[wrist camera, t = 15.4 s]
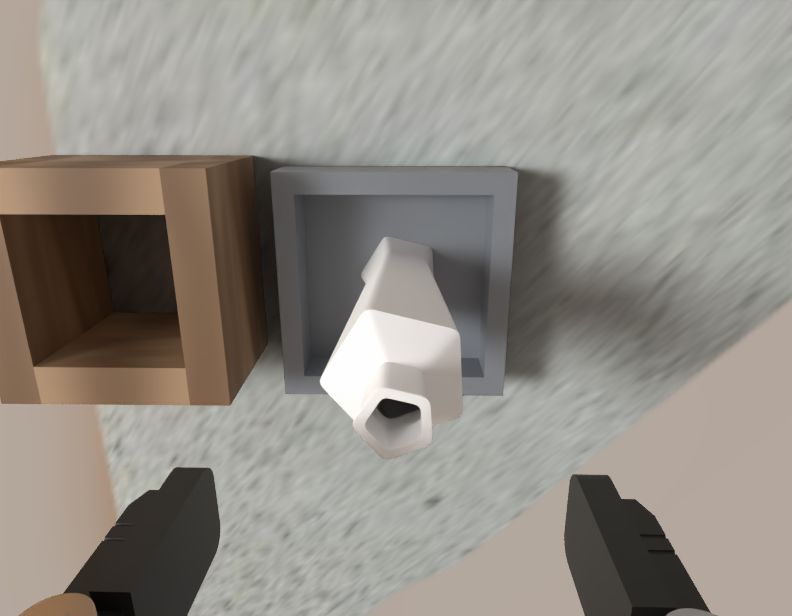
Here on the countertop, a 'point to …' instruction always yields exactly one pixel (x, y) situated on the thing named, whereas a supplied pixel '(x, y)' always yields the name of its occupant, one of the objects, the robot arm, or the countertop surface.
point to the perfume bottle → (398, 353)
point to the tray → (359, 238)
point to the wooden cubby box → (89, 289)
